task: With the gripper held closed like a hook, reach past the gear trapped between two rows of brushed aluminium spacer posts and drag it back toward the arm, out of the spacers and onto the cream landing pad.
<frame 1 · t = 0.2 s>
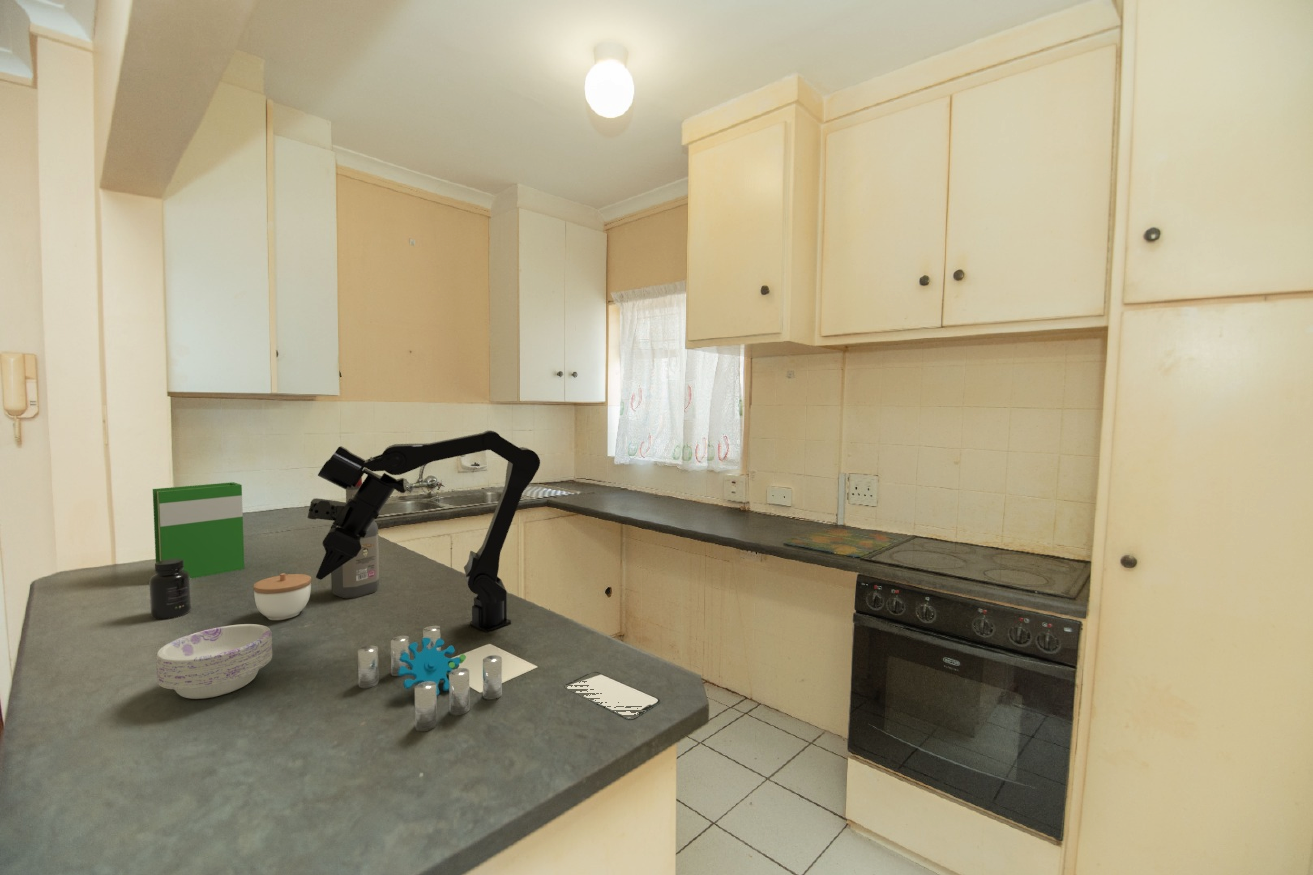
hand: (321, 571, 108), 15 cm above the worktop, tool tilted 30°, fingers open, 9 cm apart
spacer posts: (428, 689, 94), on the worktop
liquor: (355, 592, 141), on the worktop
smartphone: (610, 696, 93), on the worktop
landing pad: (485, 666, 102), on the worktop
paper bowls: (218, 686, 94), on the worktop
gear: (433, 688, 94), on the worktop, touching landing pad
hardback book: (201, 573, 154), on the worktop
supplement bottle: (171, 615, 125), on the worktop
lidded jar: (284, 615, 125), on the worktop
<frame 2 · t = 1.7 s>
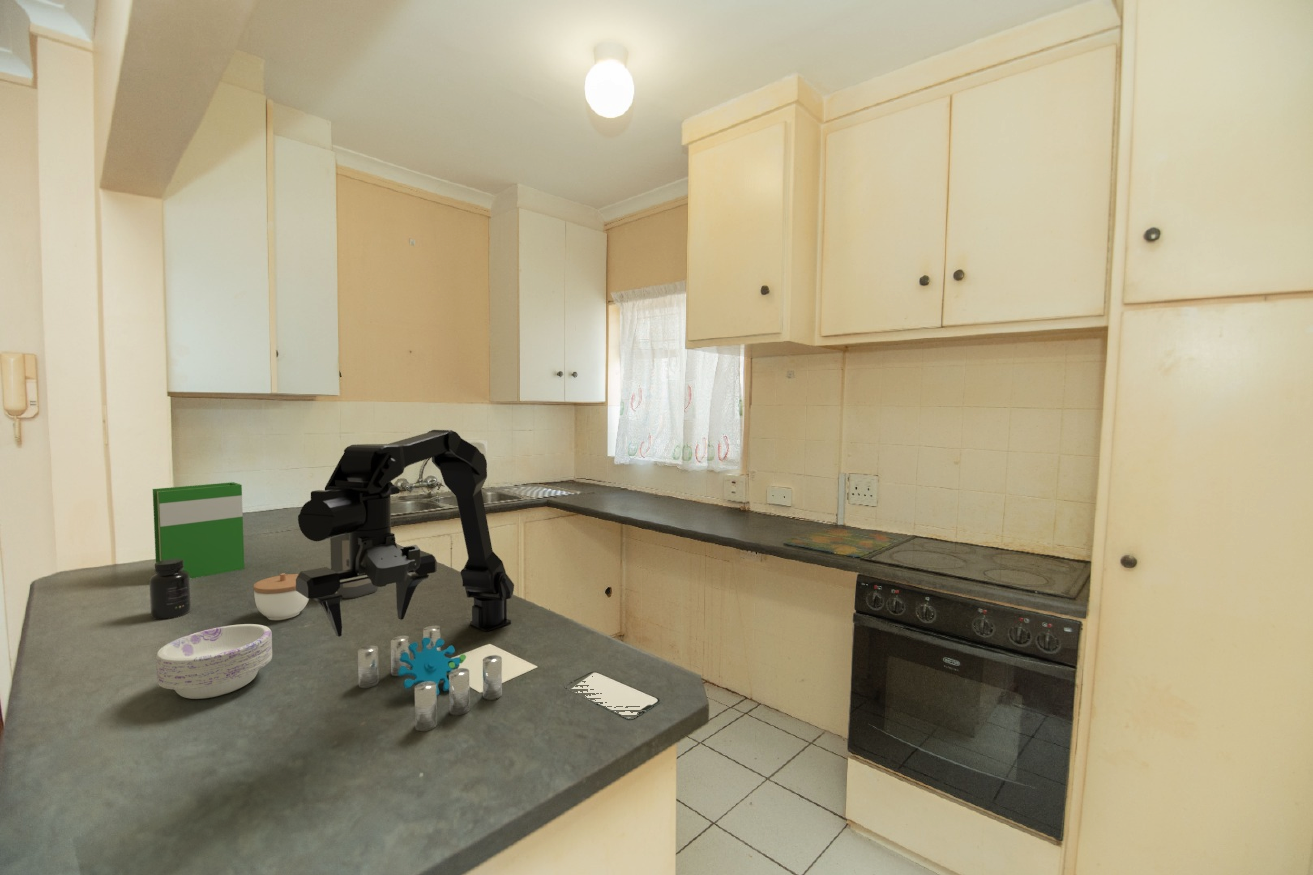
hand: (371, 627, 86), 13 cm above the worktop, tool pointing down, fingers open, 9 cm apart
nothing on the worktop moved.
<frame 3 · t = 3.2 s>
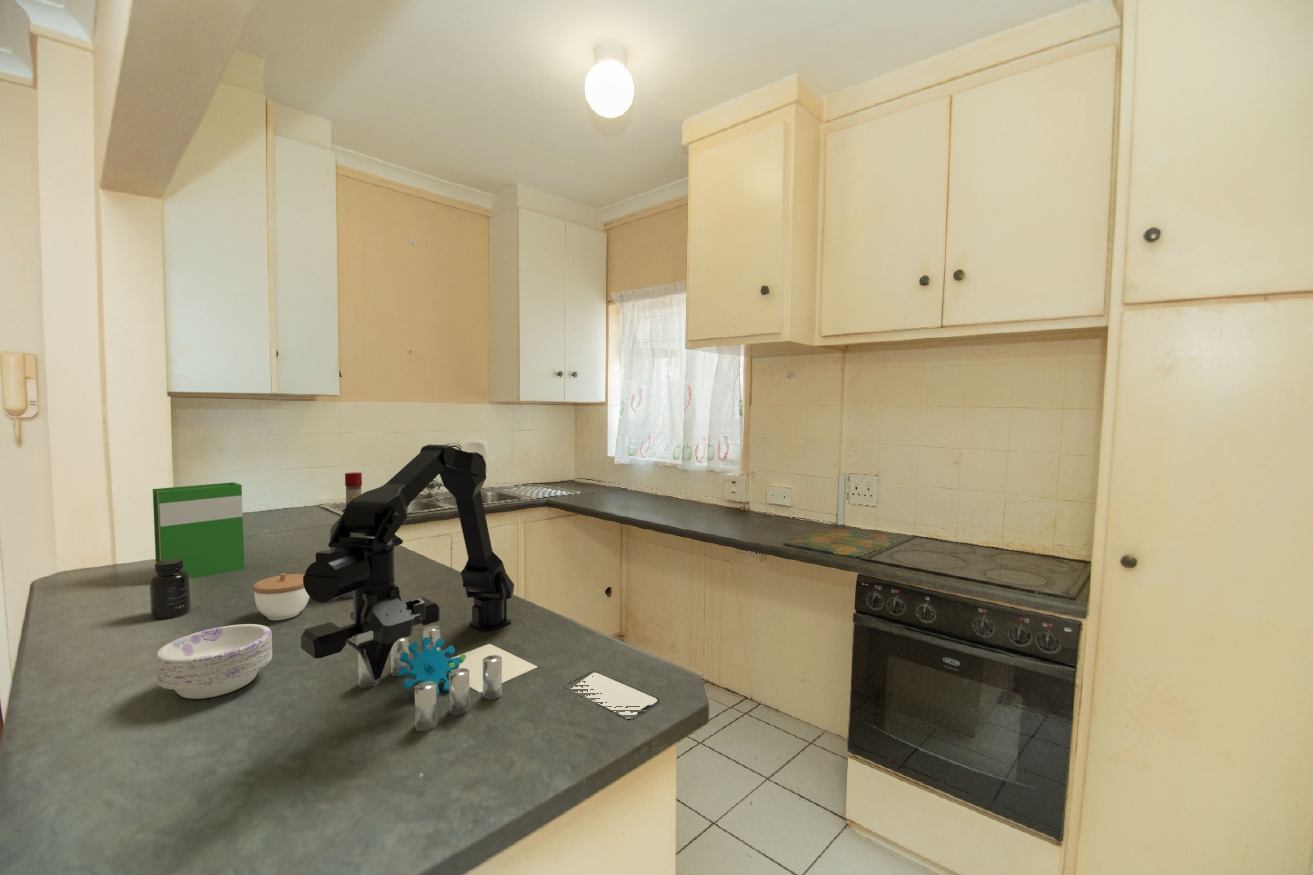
hand: (376, 678, 87), 5 cm above the worktop, tool pointing down, fingers closed
nothing on the worktop moved.
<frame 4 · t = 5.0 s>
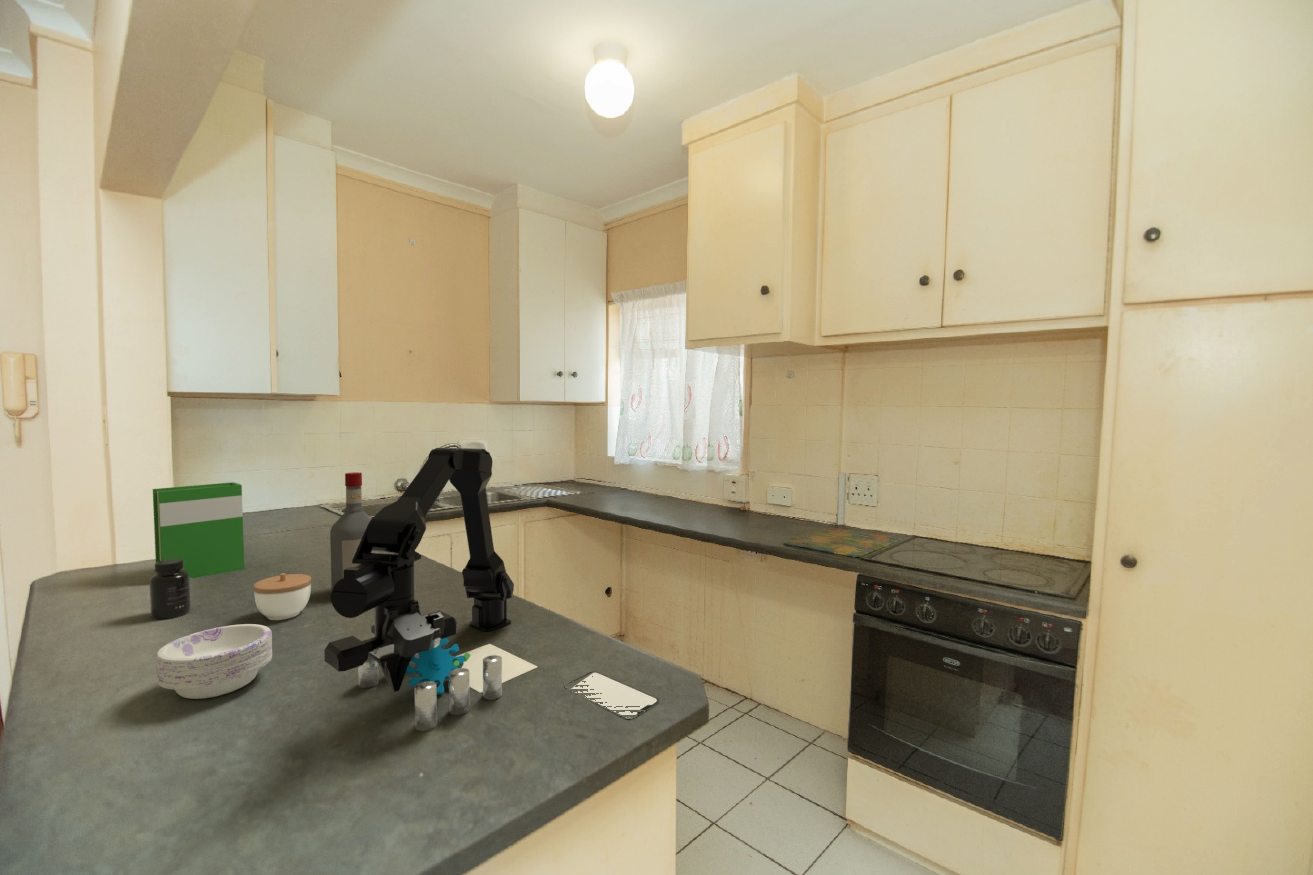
hand: (395, 690, 89), 2 cm above the worktop, tool pointing down, fingers closed
gear: (438, 686, 95), on the worktop, touching gripper
everything else where it was.
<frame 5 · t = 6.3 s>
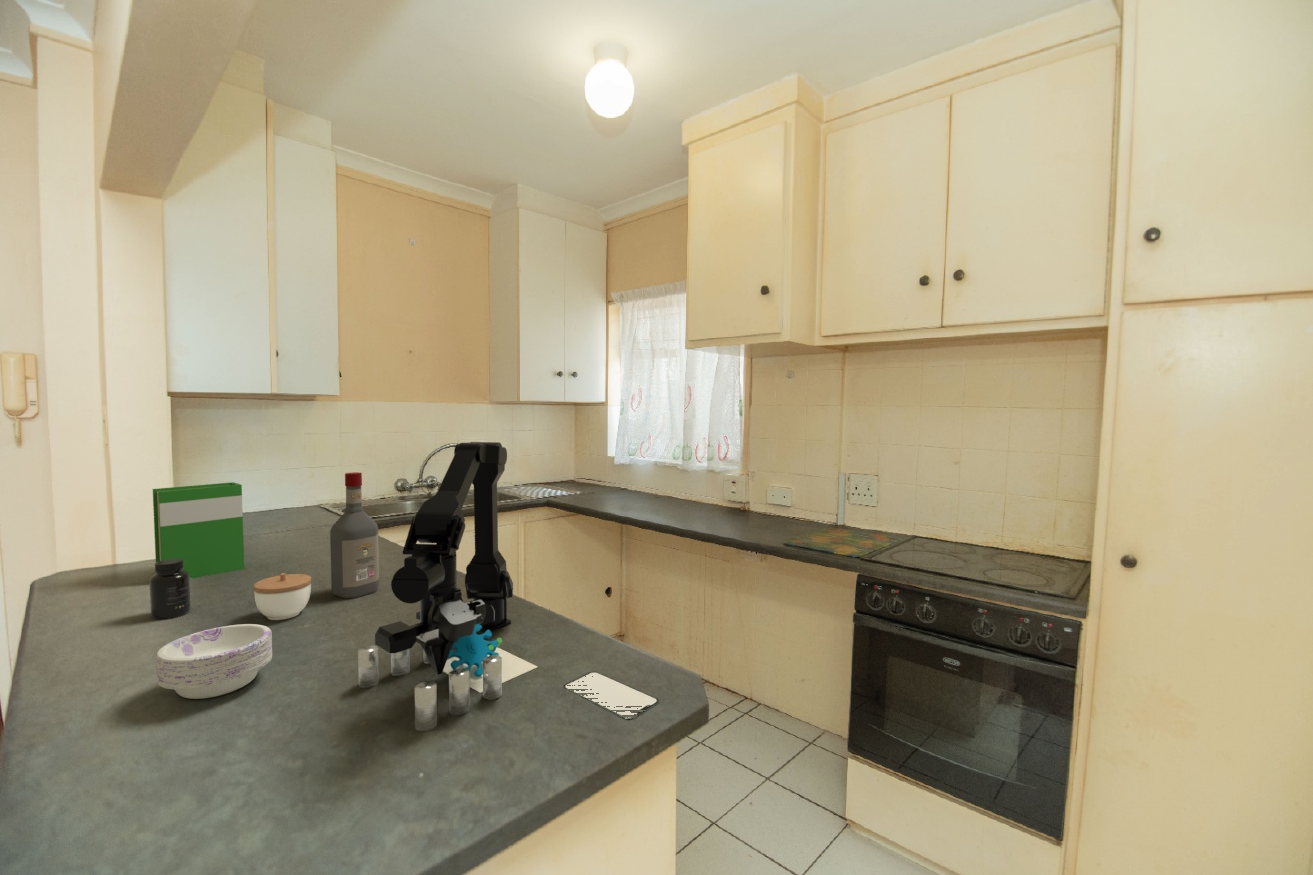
hand: (438, 673, 95), 2 cm above the worktop, tool pointing down, fingers closed
gear: (474, 669, 101), resting on landing pad, touching gripper
everything else where it was.
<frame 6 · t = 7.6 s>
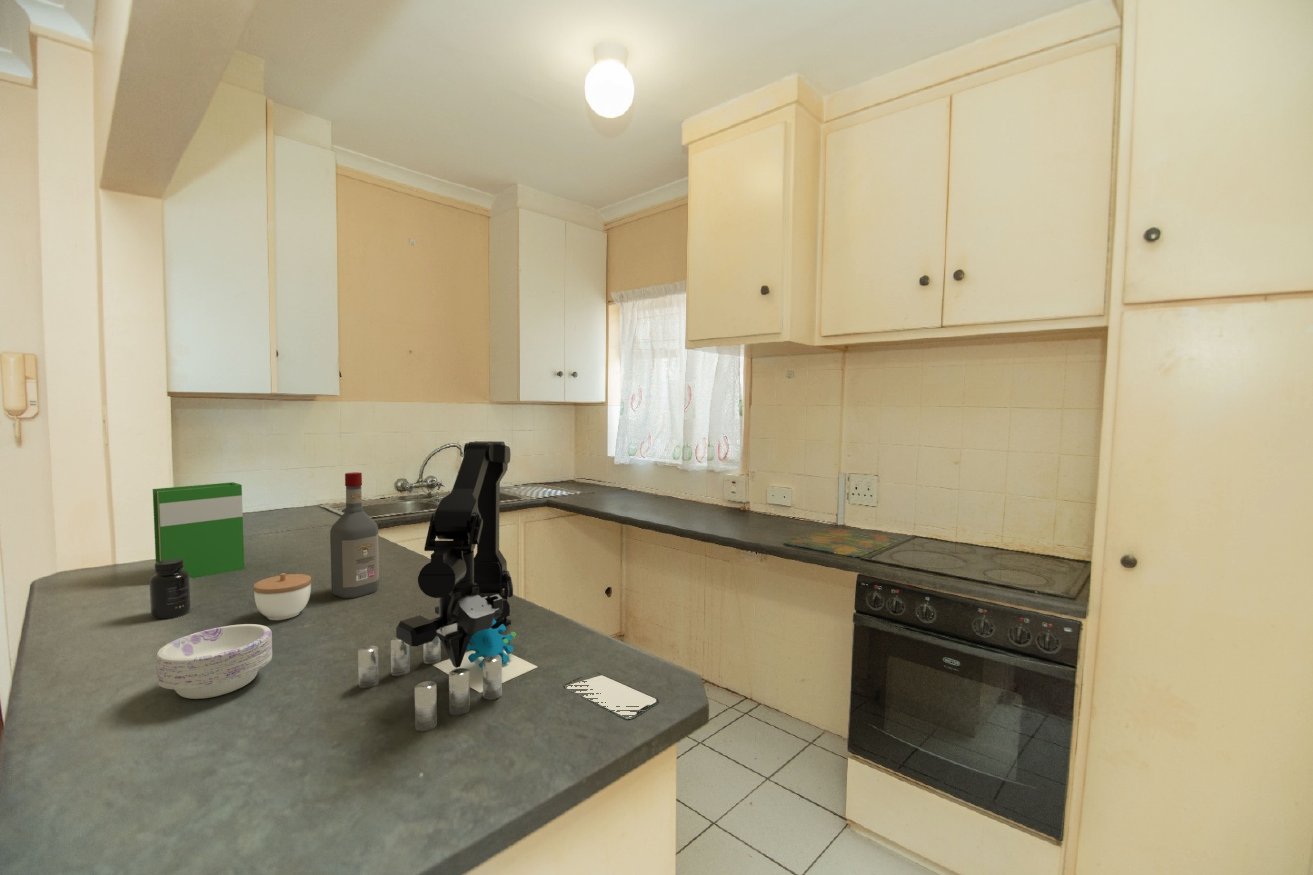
hand: (456, 666, 98), 2 cm above the worktop, tool pointing down, fingers closed
gear: (490, 662, 104), resting on landing pad, touching gripper
everything else where it was.
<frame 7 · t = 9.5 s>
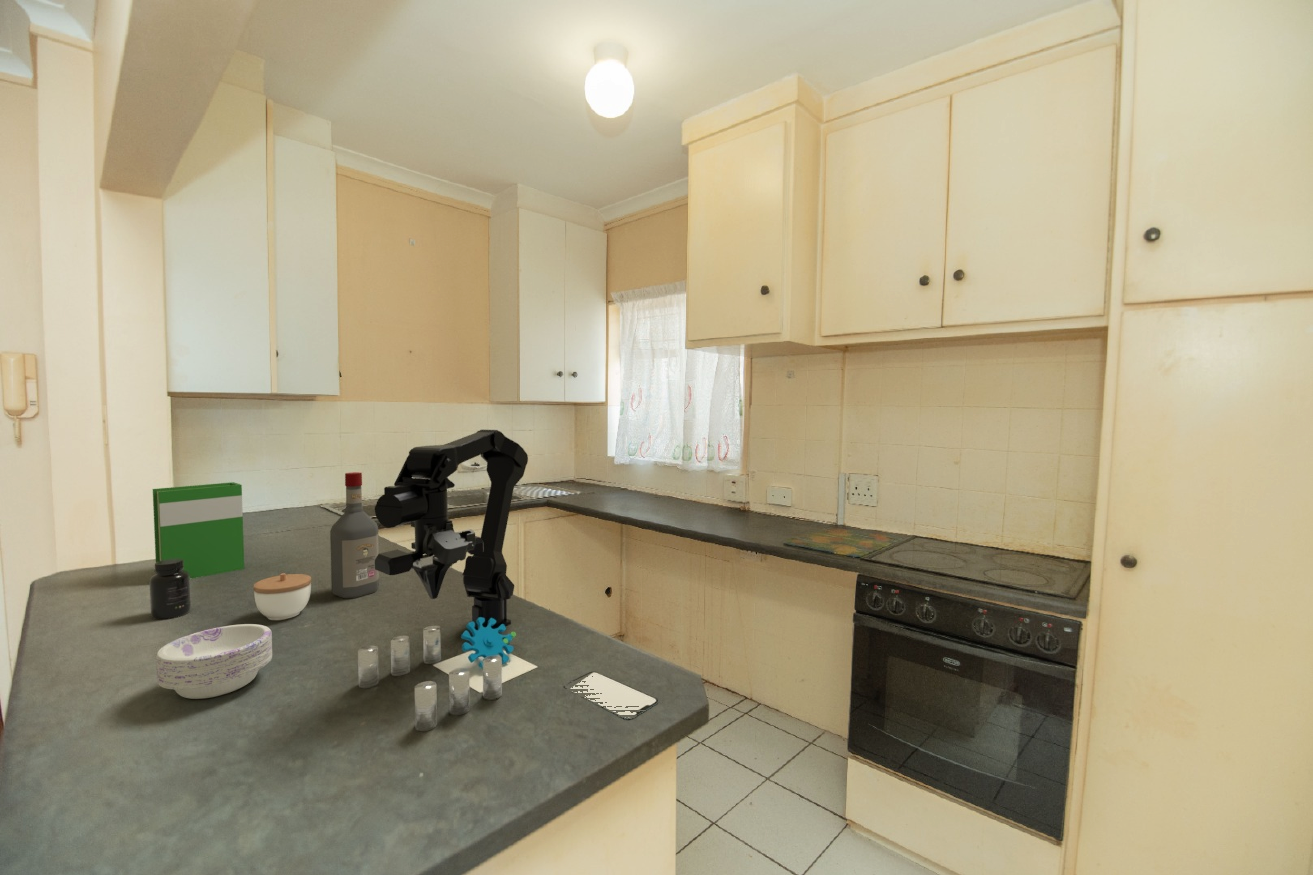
hand: (433, 598, 104), 12 cm above the worktop, tool pointing down, fingers closed
gear: (490, 662, 104), resting on landing pad
everything else where it was.
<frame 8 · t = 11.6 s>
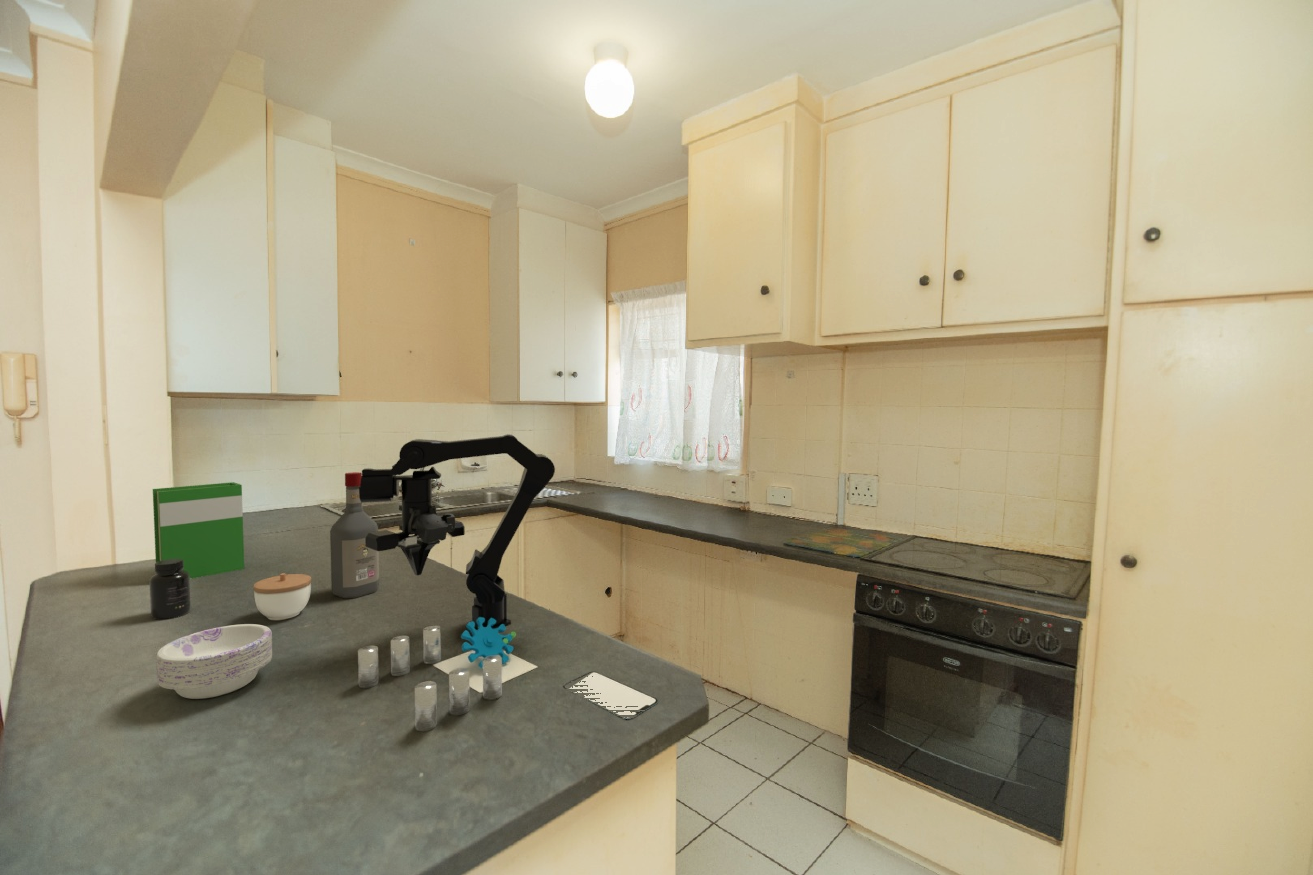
hand: (418, 574, 117), 12 cm above the worktop, tool pointing down, fingers closed
nothing on the worktop moved.
at the end: gear inside the target area (1.8 cm from its centre), resting on landing pad; gear tilted 0° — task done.
